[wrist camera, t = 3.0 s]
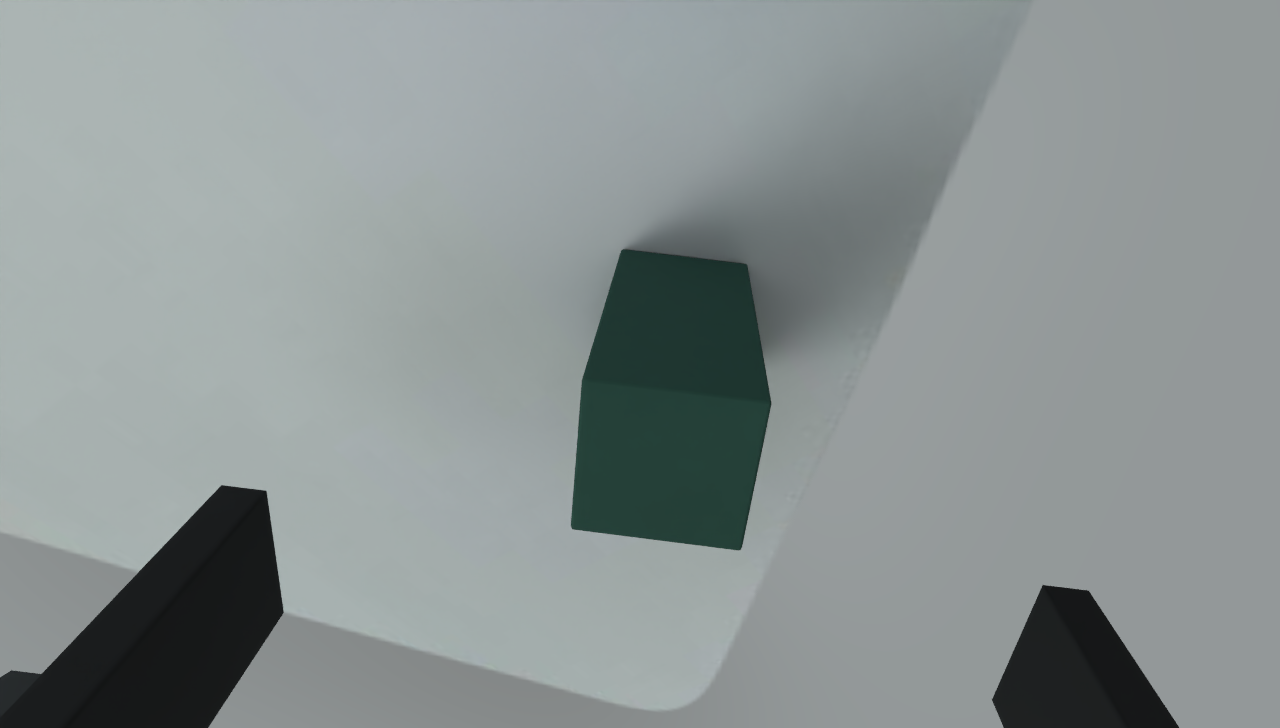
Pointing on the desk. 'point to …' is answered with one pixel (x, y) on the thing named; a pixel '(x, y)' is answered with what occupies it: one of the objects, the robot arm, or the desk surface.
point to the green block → (672, 404)
